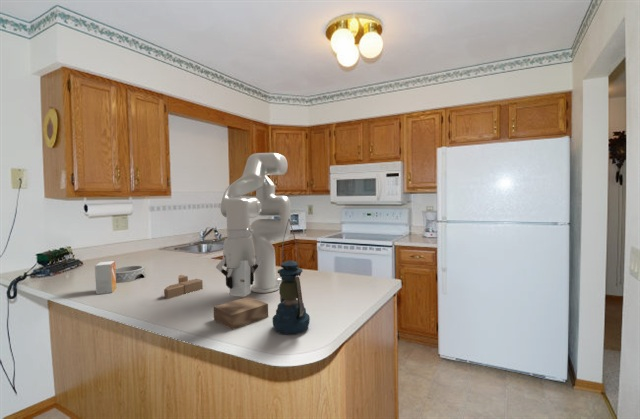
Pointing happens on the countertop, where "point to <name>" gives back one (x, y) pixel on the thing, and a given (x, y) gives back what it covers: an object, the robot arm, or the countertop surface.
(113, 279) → the small box
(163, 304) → the countertop surface
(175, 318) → the countertop surface
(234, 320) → the brown cardboard box
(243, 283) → the skincare box
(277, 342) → the countertop surface
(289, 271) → the lantern
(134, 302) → the countertop surface
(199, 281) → the wooden block set
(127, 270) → the dog bowl
